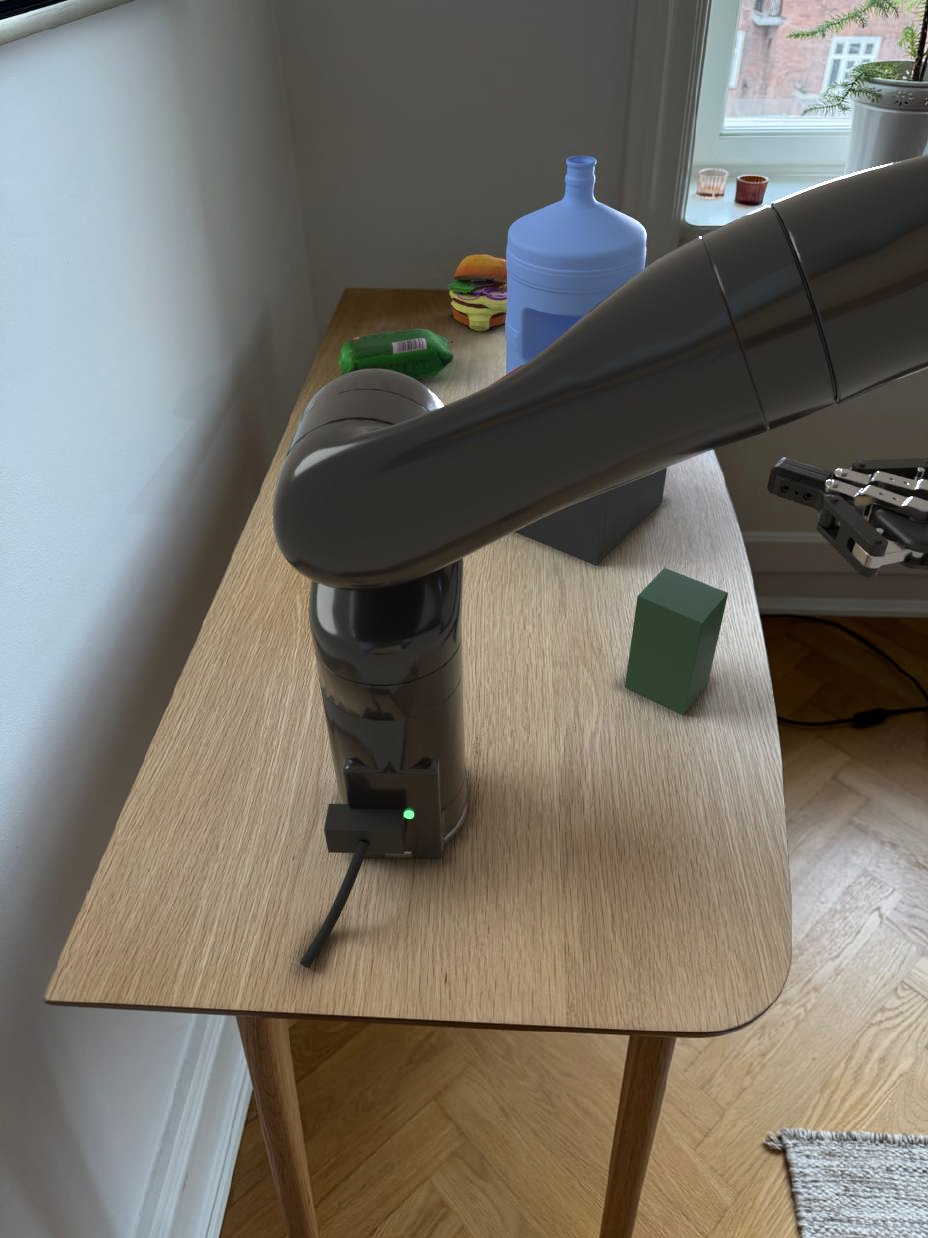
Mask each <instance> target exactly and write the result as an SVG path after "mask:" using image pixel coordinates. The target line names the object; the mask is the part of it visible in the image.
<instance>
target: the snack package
mask: <svg viewBox="0 0 928 1238" xmlns="http://www.w3.org/2000/svg"><path fill="white" fill-rule="evenodd" d="M449 343H450V344H453V343H454V341H453V340H452V341H449V339H448V338H446V337H445V336H444V335H443V336H441V335H439V334H436V333H435V332H433V331H431V330H428V329H424V328H411V329H404V330H396V331H388V332H380V333H373V334H365V335H359V336H354V337H352V338H349V339H347V341H345V342H344V343H343V344H342V346H341V348H340V351H339V355H338V359H337V364H338V367H340V370H341V372H340V375H339V376H341V375H344V374H346V373H349V372H352V371H356V370H361V369H388V370H393V371H397V372H400V373H403V374H405V375H408V376H410V377H412V378H414V379H416V380H418V381H419V380H424V379H429V378H432V377H436V376H438V375H439V374H440V373H441V372H442V371H443V370H444V369H445V368H446V367H447V366H448V365H449V364H450V363H451V362H452V361H453V360H454V358H455V356H454V352H452V350H451V349H449V346H448V344H449Z"/></svg>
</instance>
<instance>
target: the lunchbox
mask: <svg viewBox="0 0 928 1238" xmlns="http://www.w3.org/2000/svg"><path fill="white" fill-rule="evenodd" d="M667 470H668V467H667V468H665V469H662V470H660V471H657V472H655V473H653V474H650V475H648V476H645V477H642V478H640V479H637V480H635V481H632V482H630V483H627V484H625V485H622V486H620V487H617V488H614V489H612V490H609V491H606V492H604V493H601V494H599V495H596V496H593V497H591V498H588V499H586V500H583V501H581V502H578V503H575V504H573V505H570V506H568V507H566V508H564V509H561V510H559V511H557V512H555V513H552V514H550V515H548V516H546V517H544V518H542V519H539V520H537V521H535V522H533V523H531V524H529V525H527V526H525V527H523V528H521V529H519V530H517V531H515V532H514V533H516V534H520V535H522V536H525V537H526V538H529V539H532V540H534V541H537V542H539V543H541V544H544V545H546V546H548V547H551V548H553V549H555V550H558V551H561V552H563V553H566V554H568V555H570V556H573V557H575V558H578V559H580V560H582V561H584V562H587V563H589V564H592V565H594V566H597V565H599V564H600V563H601V561H602V560H604V559H605V558H606V557H607V556H608V555H609V554H610V553H611V552H612V551H613V550H614V549H615V548H616V547H617V546H618V545H619V544H620V543H622V541H624V539H626V537H628V536H629V535H630V534H631V533H632V532H633V531H634V530H635V529H636V528H637V527H638V526H639V525H640V524H641V523H642V522H643V521H644V520H645V519H646V518H647V517H648V516H650V514H652V513H653V512H654V511H655V510H656V509H657V508H658V507H659V506H660V505H661V504H662V503H663V499H664V492H665V486H666V485H665V484H666V479H667V473H668V472H667Z"/></svg>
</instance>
